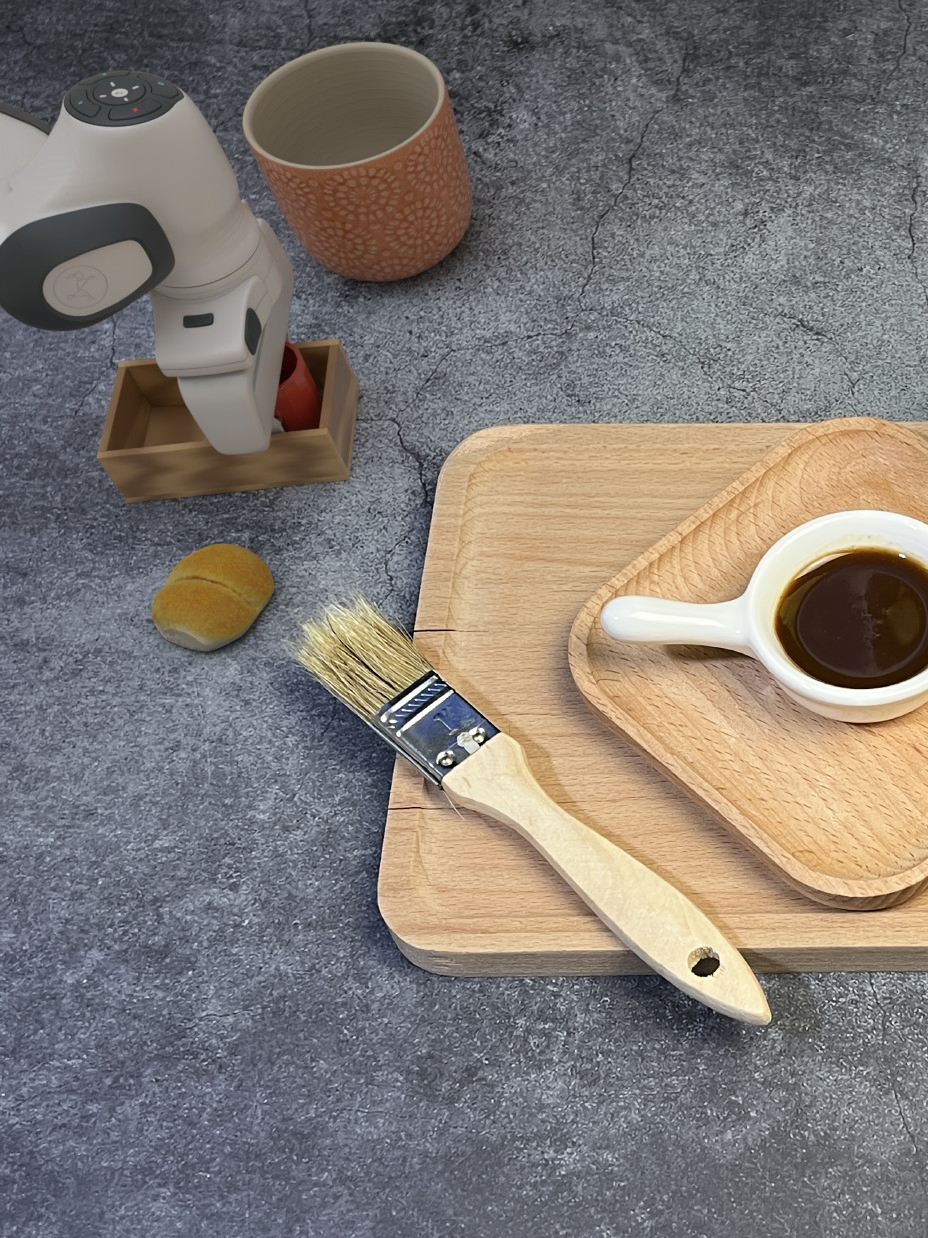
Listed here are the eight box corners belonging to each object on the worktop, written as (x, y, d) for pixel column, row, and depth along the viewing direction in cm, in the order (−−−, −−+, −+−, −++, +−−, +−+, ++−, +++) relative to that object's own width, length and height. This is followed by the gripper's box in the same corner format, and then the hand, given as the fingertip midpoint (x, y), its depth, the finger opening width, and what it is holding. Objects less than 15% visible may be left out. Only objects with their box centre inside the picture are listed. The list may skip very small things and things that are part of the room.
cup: (256, 461, 124) (220, 398, 118) (264, 407, 127) (230, 343, 121) (329, 454, 124) (297, 390, 118) (336, 400, 127) (305, 336, 121)
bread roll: (294, 572, 118) (276, 541, 115) (233, 664, 114) (212, 634, 110) (205, 548, 120) (184, 516, 117) (140, 637, 115) (117, 607, 112)
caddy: (127, 503, 123) (95, 458, 118) (148, 407, 129) (119, 361, 124) (349, 479, 123) (326, 434, 119) (360, 385, 129) (338, 338, 125)
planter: (272, 238, 140) (207, 98, 128) (431, 158, 146) (383, 16, 133) (359, 336, 133) (299, 198, 120) (523, 248, 138) (482, 107, 125)
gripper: (193, 188, 117) (259, 318, 129) (151, 379, 106) (228, 504, 117) (274, 179, 117) (333, 310, 129) (241, 370, 106) (309, 495, 117)
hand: (283, 404), depth 123 cm, fingers closed on cup, 6 cm apart
